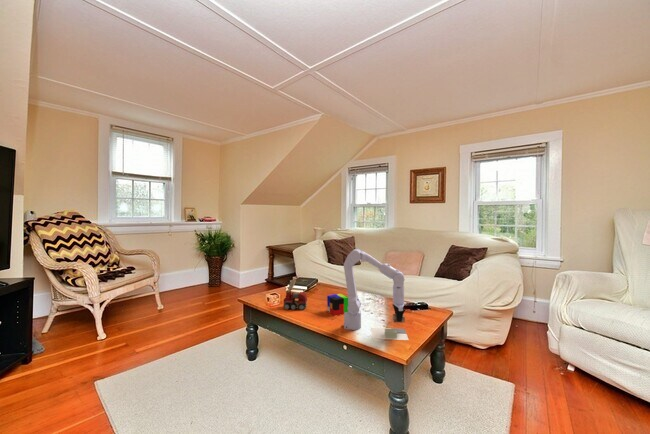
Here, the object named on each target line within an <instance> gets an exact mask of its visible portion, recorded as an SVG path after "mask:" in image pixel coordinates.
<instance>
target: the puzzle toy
mask: <svg viewBox="0 0 650 434" xmlns="http://www.w3.org/2000/svg"><path fill="white" fill-rule="evenodd" d="M326 297H327V298H326V299H327V300H326V302H327V303H326V307H327V309H326V311H327V312H328V311H329V312H328V313H330V314H331V313H332V314H331V315H333V316H334V315H337V316H339V315H340V314H341V315H344V313H345V312H348V296H345V294H342V293H337V294H330V295H327V296H326Z"/></svg>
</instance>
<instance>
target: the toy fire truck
mask: <svg viewBox="0 0 650 434" xmlns="http://www.w3.org/2000/svg"><path fill="white" fill-rule="evenodd" d="M296 281H297V280H296V279H291V280H290V283H289V285H288V288H287V290H286V292H285V297H284V299H283V308H284V310H286V309H288V310H290V309H291V310H292V311H295V310H296V309H298V310H300V311H303V310H305V308H307V306H308V296H307V294H306V293H305V292H303V291H300V292H293V291H292V290H293V288H294V286H295V283H296Z"/></svg>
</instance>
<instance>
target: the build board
mask: <svg viewBox="0 0 650 434" xmlns="http://www.w3.org/2000/svg"><path fill="white" fill-rule="evenodd" d="M385 329H396V332H397V338H385ZM370 330H371V331H370V332H371V339H372V340H395V341H397V340H398V341H410V340H409V336H408V334H407V332H406V329H405V328H393V327H392V328H387V327H386V328H385V327H370Z"/></svg>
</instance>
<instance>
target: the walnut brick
mask: <svg viewBox="0 0 650 434" xmlns="http://www.w3.org/2000/svg"><path fill="white" fill-rule="evenodd" d="M405 317H406V316H405V314H403V317H402V321H401V322H397V318H396V314H395V313H393V314H392V321H393V323H397V324H398V323H399V324H400V323H401V324H403V323H404V324H406V323H405V322H406V321H405Z"/></svg>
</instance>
